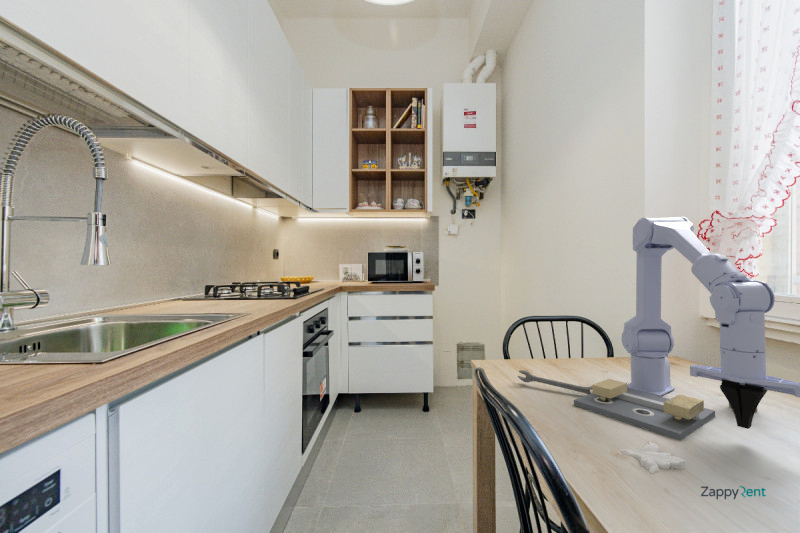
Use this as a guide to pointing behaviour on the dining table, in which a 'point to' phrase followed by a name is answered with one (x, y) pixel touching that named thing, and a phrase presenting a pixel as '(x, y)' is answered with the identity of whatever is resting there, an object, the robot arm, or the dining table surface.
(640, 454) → the acanthus leaf ornament
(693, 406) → the block
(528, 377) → the combination wrench
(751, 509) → the dining table surface
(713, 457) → the dining table surface
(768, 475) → the dining table surface
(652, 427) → the bolt plate
